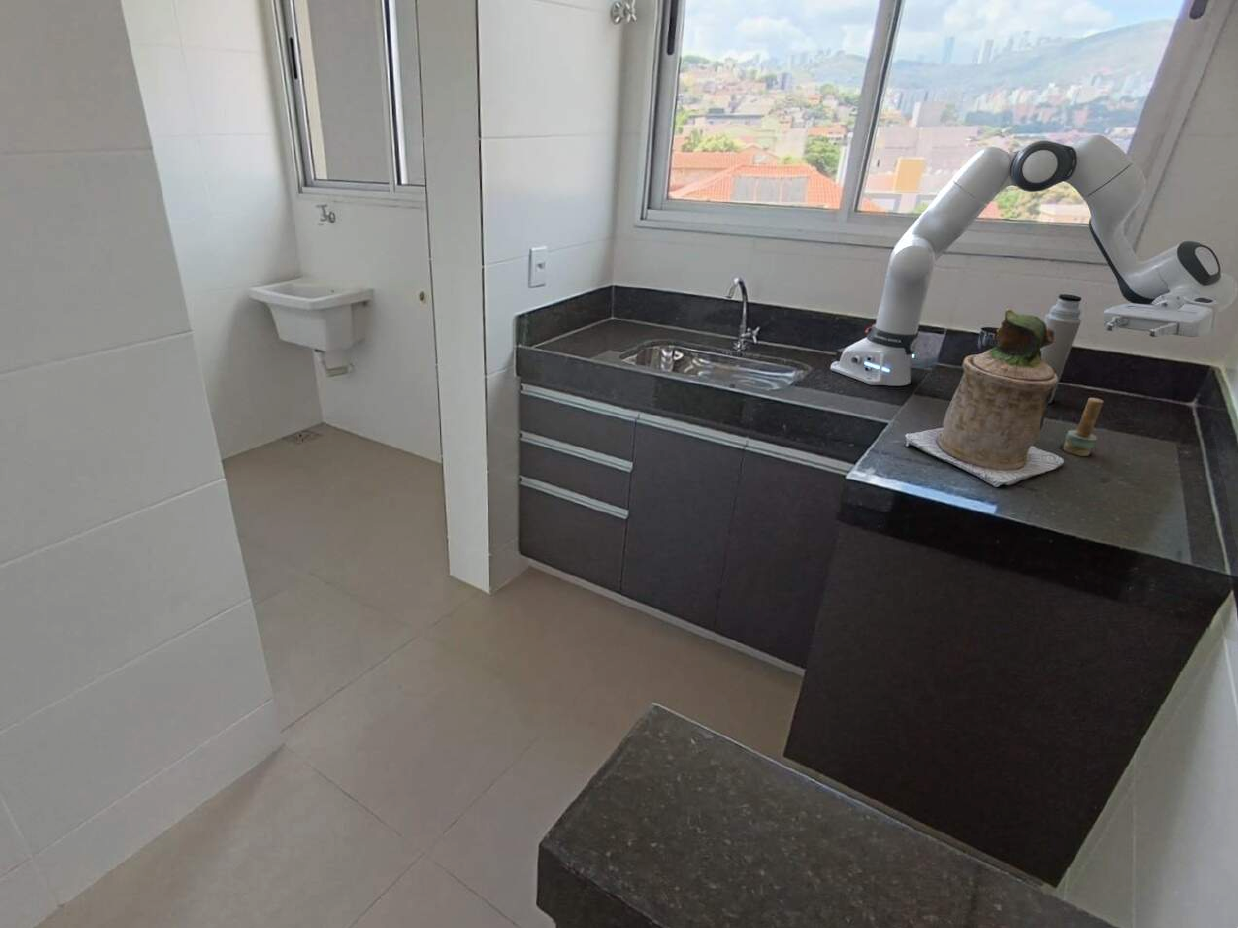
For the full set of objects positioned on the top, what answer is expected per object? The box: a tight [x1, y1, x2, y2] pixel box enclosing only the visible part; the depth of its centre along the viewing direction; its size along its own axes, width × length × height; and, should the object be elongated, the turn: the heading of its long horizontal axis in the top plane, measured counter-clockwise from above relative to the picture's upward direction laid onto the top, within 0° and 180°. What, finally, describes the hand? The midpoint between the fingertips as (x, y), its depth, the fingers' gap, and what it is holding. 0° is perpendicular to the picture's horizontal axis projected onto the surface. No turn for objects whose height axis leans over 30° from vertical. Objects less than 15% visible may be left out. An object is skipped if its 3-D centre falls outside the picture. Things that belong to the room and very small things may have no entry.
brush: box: [1063, 397, 1105, 457], centre depth 152 cm, size 6×6×12 cm
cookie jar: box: [904, 308, 1065, 488], centre depth 143 cm, size 25×25×32 cm
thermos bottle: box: [1040, 293, 1082, 404], centre depth 179 cm, size 8×8×28 cm
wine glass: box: [977, 326, 1000, 354], centre depth 192 cm, size 8×8×15 cm
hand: (1130, 330), depth 149 cm, fingers open, 8 cm apart
